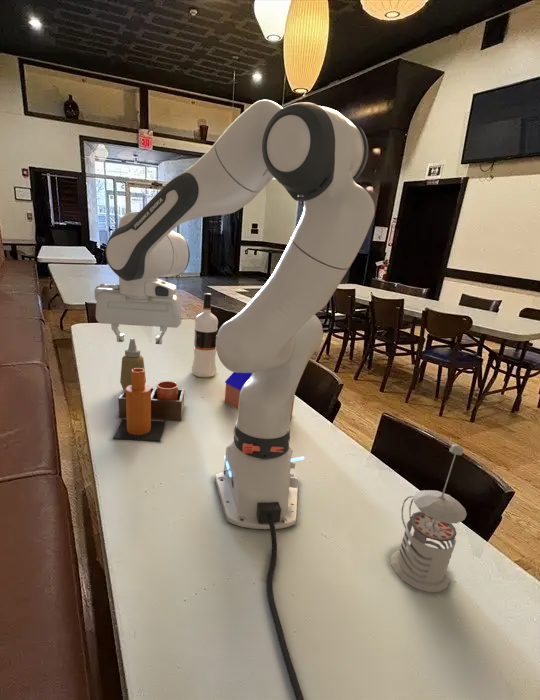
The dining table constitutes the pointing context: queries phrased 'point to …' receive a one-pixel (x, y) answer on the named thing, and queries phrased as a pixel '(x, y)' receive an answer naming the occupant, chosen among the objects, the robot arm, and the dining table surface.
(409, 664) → the dining table surface
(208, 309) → the vodka
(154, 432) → the mat
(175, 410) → the wooden condiment rack
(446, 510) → the french press
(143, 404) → the bottle
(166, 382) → the rack cup
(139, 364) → the squeeze bottle
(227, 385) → the house
